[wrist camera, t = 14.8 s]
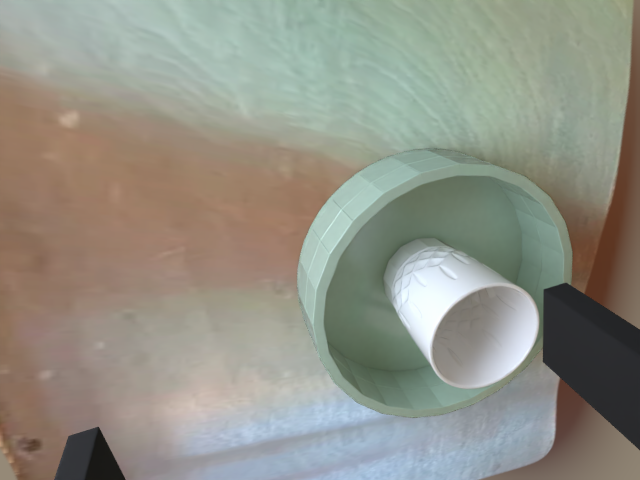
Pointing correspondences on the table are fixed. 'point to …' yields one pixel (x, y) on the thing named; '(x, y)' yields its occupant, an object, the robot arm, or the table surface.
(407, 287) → the white cup
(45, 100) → the table surface
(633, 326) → the robot arm
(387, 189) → the bowl
